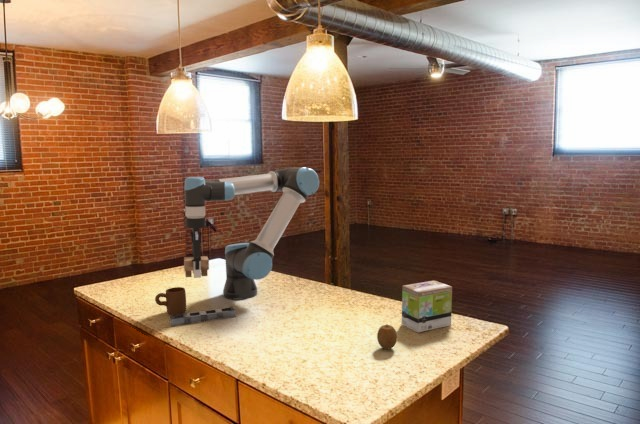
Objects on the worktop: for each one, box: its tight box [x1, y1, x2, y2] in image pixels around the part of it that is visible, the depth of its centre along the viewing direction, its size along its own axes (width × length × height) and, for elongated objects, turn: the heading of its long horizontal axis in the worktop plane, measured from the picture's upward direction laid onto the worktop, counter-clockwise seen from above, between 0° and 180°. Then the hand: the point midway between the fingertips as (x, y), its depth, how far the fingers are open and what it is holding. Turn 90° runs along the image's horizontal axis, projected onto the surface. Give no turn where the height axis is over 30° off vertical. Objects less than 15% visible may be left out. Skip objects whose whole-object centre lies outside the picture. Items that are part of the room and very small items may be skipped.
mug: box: [154, 286, 187, 316], centre depth 187 cm, size 12×8×9 cm, turn 128°
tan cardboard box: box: [183, 255, 210, 278], centre depth 184 cm, size 9×7×7 cm
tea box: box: [401, 280, 453, 334], centre depth 168 cm, size 15×10×15 cm, turn 117°
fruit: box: [376, 324, 398, 350], centre depth 149 cm, size 6×6×8 cm
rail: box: [169, 306, 237, 327], centre depth 180 cm, size 24×5×3 cm, turn 112°
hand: (196, 275), depth 185 cm, fingers closed on tan cardboard box, 7 cm apart
